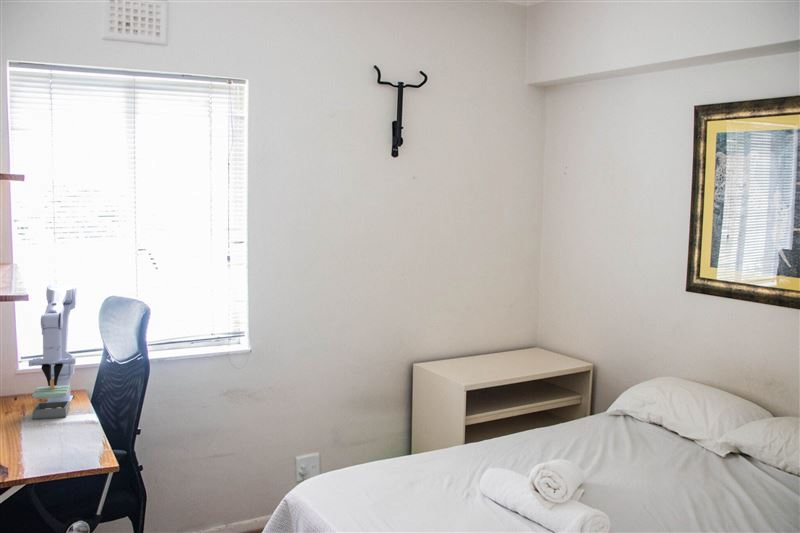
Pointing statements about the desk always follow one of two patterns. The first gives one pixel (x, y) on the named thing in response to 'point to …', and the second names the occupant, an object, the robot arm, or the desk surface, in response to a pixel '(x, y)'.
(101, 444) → the desk surface
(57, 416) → the tub
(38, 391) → the lid
